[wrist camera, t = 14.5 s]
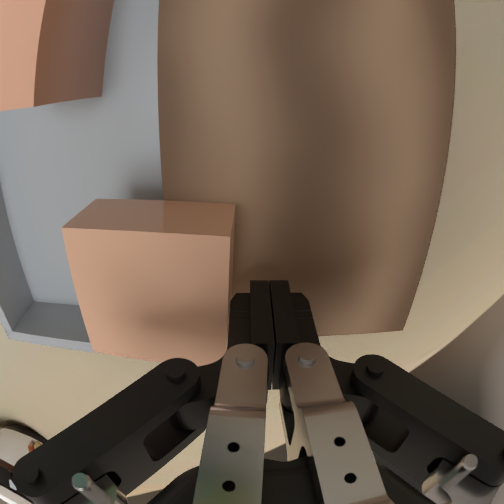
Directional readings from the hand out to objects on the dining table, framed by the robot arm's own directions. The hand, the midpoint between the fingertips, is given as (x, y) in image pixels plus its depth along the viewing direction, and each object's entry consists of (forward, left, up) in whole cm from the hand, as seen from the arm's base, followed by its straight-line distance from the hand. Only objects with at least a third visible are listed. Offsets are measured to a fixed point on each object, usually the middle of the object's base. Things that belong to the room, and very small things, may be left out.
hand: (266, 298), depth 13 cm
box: (+11, -5, -6) cm, 13 cm away
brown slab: (-2, -5, -6) cm, 8 cm away
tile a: (+8, -11, -2) cm, 14 cm away
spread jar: (+33, +31, -6) cm, 46 cm away
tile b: (+4, -1, -2) cm, 5 cm away
